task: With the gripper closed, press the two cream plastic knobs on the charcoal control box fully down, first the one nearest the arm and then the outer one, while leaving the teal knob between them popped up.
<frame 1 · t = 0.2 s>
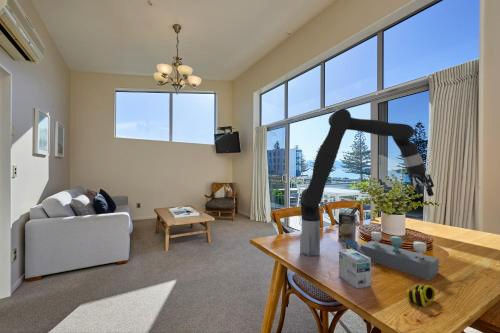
hand: (425, 194, 115), 31 cm above the table, tool tilted 20°, fingers open, 8 cm apart
label tape cartridge: (354, 268, 103), on the table
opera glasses: (420, 301, 79), on the table
outer knob: (419, 251, 99), point 9 cm above the table, slide at 3.0 cm
inner knob: (376, 240, 114), point 9 cm above the table, slide at 3.0 cm
light bulb box: (354, 281, 91), on the table
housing: (396, 264, 106), on the table
coffee box: (346, 241, 139), on the table
middle knob: (396, 245, 106), point 9 cm above the table, slide at 3.0 cm
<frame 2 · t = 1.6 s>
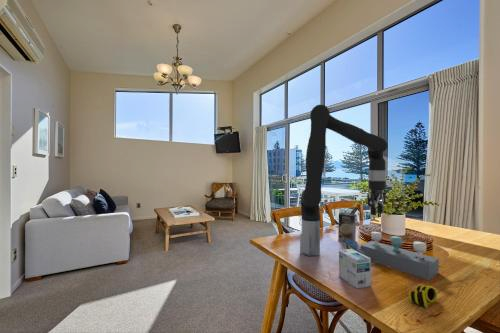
hand: (376, 213, 114), 22 cm above the table, tool pointing down, fingers open, 6 cm apart
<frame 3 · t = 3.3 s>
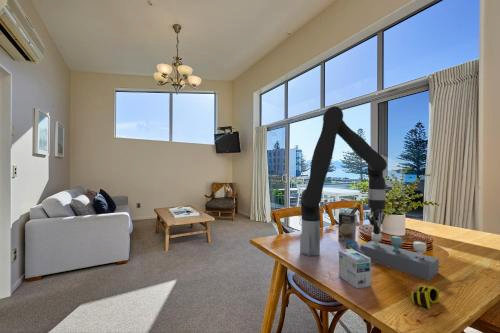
hand: (376, 233, 114), 12 cm above the table, tool pointing down, fingers closed
inner knob: (376, 241, 114), point 8 cm above the table, slide at 2.6 cm, touching gripper
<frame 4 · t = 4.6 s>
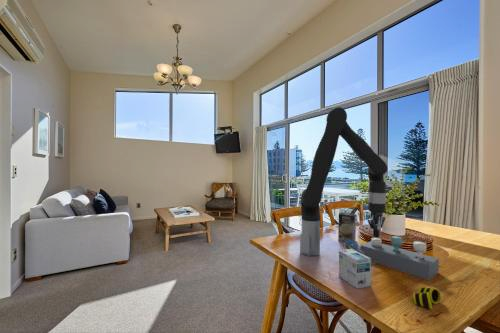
hand: (376, 237, 114), 10 cm above the table, tool pointing down, fingers closed
inner knob: (376, 246, 114), point 5 cm above the table, slide at -0.1 cm
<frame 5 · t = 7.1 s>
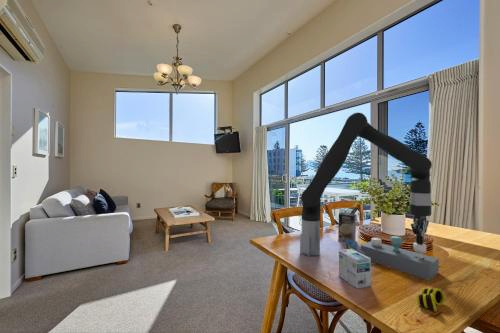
hand: (419, 244, 99), 12 cm above the table, tool pointing down, fingers closed
outer knob: (419, 252, 99), point 8 cm above the table, slide at 2.6 cm, touching gripper
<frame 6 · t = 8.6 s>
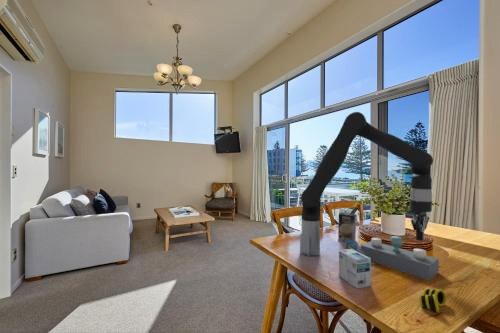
hand: (419, 240, 99), 14 cm above the table, tool pointing down, fingers closed
outer knob: (419, 259, 99), point 5 cm above the table, slide at -0.1 cm
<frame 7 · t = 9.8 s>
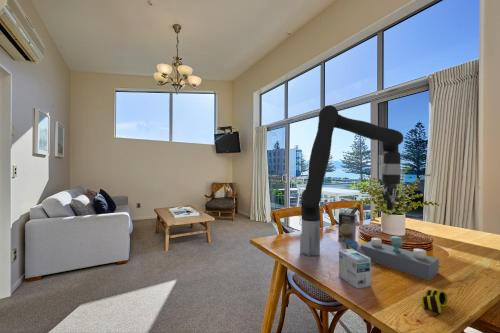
hand: (389, 209, 111), 24 cm above the table, tool pointing down, fingers closed
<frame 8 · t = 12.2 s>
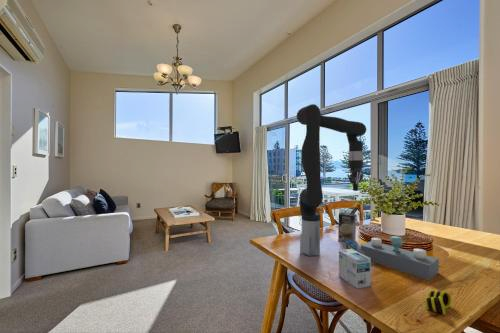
hand: (355, 190, 130), 31 cm above the table, tool pointing down, fingers closed
at the end: inner knob slide at -0.1 cm; outer knob slide at -0.1 cm; middle knob slide at 3.0 cm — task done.
